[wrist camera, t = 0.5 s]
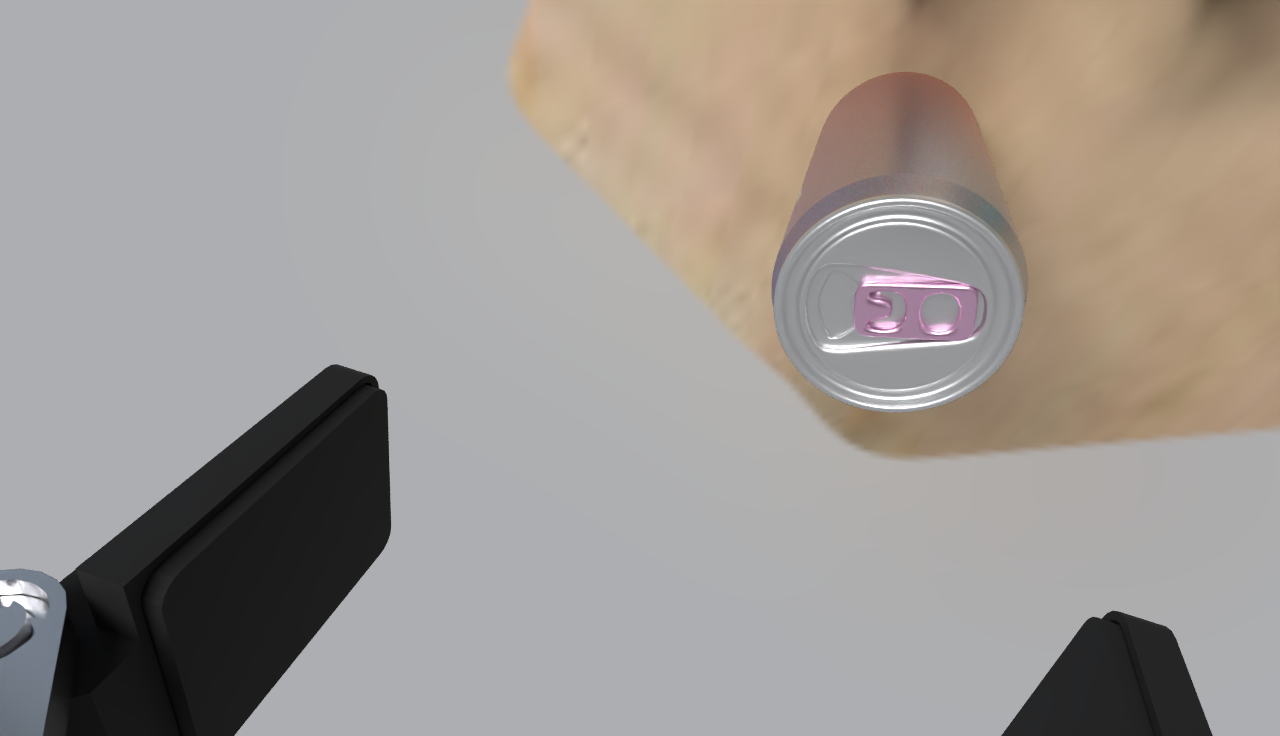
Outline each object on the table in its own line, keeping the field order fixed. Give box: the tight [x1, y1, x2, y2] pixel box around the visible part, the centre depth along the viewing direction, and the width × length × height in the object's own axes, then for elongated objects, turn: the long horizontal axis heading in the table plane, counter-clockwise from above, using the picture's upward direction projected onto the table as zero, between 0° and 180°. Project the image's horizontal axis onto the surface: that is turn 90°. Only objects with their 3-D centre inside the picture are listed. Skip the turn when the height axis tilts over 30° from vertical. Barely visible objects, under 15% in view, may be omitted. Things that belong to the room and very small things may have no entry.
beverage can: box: [772, 72, 1028, 413], centre depth 24 cm, size 6×6×15 cm
